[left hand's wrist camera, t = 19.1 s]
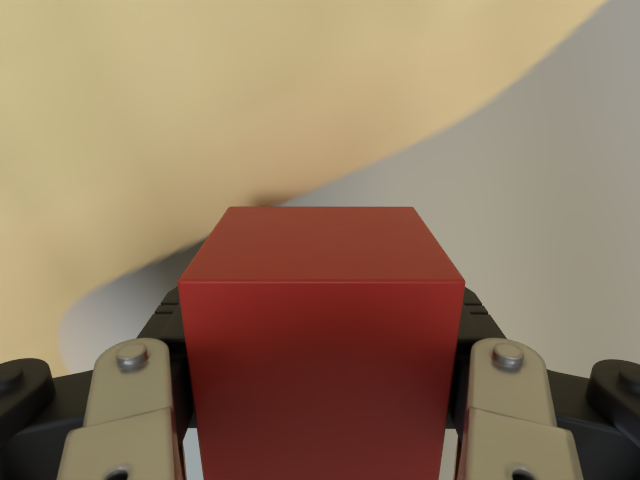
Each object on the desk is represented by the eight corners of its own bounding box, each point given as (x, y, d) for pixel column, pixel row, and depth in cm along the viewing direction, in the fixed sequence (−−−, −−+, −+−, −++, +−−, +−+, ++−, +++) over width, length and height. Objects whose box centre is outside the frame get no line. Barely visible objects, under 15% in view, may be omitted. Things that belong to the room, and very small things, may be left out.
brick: (413, 206, 12) (466, 280, 7) (400, 362, 13) (437, 493, 9) (228, 205, 12) (175, 280, 7) (241, 362, 13) (204, 493, 9)
